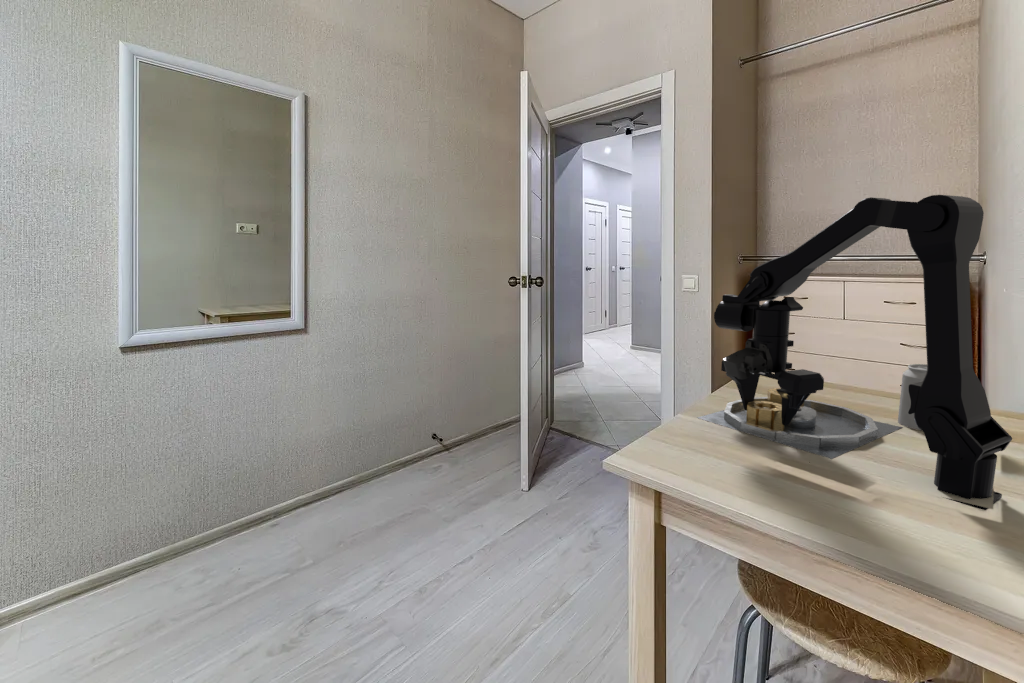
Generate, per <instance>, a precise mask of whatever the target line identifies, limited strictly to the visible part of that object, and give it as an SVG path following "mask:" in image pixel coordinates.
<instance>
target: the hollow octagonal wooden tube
mask: <svg viewBox="0 0 1024 683" xmlns="http://www.w3.org/2000/svg"><path fill="white" fill-rule="evenodd" d="M761 407H768V408H770V409H768V408H761ZM746 422H748V423H751V424H755V425H759V426H762V427H766V428H769V429H773V430H776V431H784V425H783V424H782V405H781V404H778V403H773V402H767V401H761V402H760V401H753V402H748V404H747V419H746Z"/></svg>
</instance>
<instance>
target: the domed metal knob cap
mask: <svg viewBox="0 0 1024 683" xmlns="http://www.w3.org/2000/svg"><path fill="white" fill-rule="evenodd" d="M815 424H816V411H815V410H814V409H812V408H809V407H805V406H801V407H800V408H799V410H798V411H797V413H796V414H795V416H794V417H793V419H792V420H791V422H790V423H789V425H785V426H789V427H795V428H811V427H814V426H815Z"/></svg>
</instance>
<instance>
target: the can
mask: <svg viewBox="0 0 1024 683" xmlns="http://www.w3.org/2000/svg"><path fill="white" fill-rule="evenodd" d="M926 373H927V363H926V364H925V363H921V364H920V363H918V364H917V363H913V364H912V363H911V364H908V365H907V369H906V370H905V371H903V372H902V378H901V387H900V395H899V396H900V397H899V405H898V415H897V423H898V424H899V425H901V426H902V427H906V428H908V429H909V428H910V429H913V430H918V431H922V430H921V429H919V428H918V427H917V425H916V423H915V419H914V413H913V414H908V411H909V409H910V406H911V399H910V395H909V385H910V384H914V383H918V382H922V381H923V380H924V378H925V375H926Z"/></svg>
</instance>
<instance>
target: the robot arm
mask: <svg viewBox="0 0 1024 683" xmlns="http://www.w3.org/2000/svg"><path fill="white" fill-rule="evenodd" d="M984 214H985V213H984V209H983V207H982V205H981V203H980V202H978V201H977V200H974V199H973V198H972V197H971V198H970V197H968V196H962V195H961V196H960V195H950V194H949V195H946V194H932V195H929V196H927V197H926V196H925V197H923V198H922V199H920V200H919V201H907V200H905V201H904V200H891V199H890V198H884V197H867V198H863V199H862V200H859V201H858V203H856V204H855V206H854V207H853V208H852V209H850V210H849V211H847V212H846V213H844V214H843V215H841V216H840V217H839V218H837V219H836V220H834V221H833V222H832V223H830V224H829V225H828V226H826V227H825V228H823V229H822V230H821V231H819V232H818V233H817V234H815V235H814V236H811V238H809V239H808V240H807V241H805V242H803V243H802V244H801V245H799V246H798V247H797V248H795V249H794V250H793V251H791V252H788V253H786V254H784V255H780V256H778V257H776V258H773V259H770V260H768V261H766V262H764V263H762V264H760V265H758V266H756V267H754V269H753V270H752V271H751V272H750V273H749V276H750V277H749V280H748V281H747V282H746V284H745V286H744V287H743V288H742V289H741V291H740V293H739V294H738V295H736V294H723V295H722V301H720V302H719V303H718V305H717V306H716V308H715V311H714V313H713V320H714V323H715V325H716V326H717V328H719V329H725V330H731V331H739V332H741V331H742V332H750V331H752V338H747V339H746V342H745V347H744V348H743V349H740V350H736V351H735V352H733V353H731V354H729V355H727V356H725V357H723V358H722V361H721V365H720V366H721V369H720V370H721V371H722V372H725V375H726V376H727V377H728V378H730V379H731V380H732V381H733V383H735V384H736V387H737V389H738V392H739V396H740V399H741V400H742V403H743V406H744V409H745V410H746V411H747V404H748V402H753V401H754V398H755V397H756V394H757V388H758V384H759V380H760V376H762V377H766V378H769V379H773V380H777V384H778V386H779V388H781V389H776V388H775V389H776V390H777V392H778V393H779V394H780V395H781V397H782V424H783V425H789V423H790V422H791V420H792V419H793V417H794V416H795V414H796V413H797V411H798V410H799V408H800V407H801V405H802V404H803V403H804V401H805V400H808V398H809V397H810V395H811V394H817V391H823V390H824V387H825V386H824V385H825V384H824V383H825V378H824V376H822V374H821V373H820V372H815V371H813V370H808V369H803V368H802V369H795V370H793V363H792V362H788V349H789V348H791V347H794V343H795V341H794V340H790V339H789V334H790V333H789V332H790V316H791V315H790V314H791V312H796V311H797V312H798V311H803V309H804V307H803V306H802V305H801V304H800V303H799V302H798V301H797V300H796V299H795V297H794V296H790V295H792V294H793V293H795V291H796V290H798V289H799V288H800V287H801V286H802V285H803V284H805V283H806V282H807V280H808V278H809V277H810V275H811V274H812V272H814V271H815V270H816V269H817V268H819V267H820V266H822V265H823V264H825V263H826V262H829V261H830V260H832V258H834V257H837V255H839V254H840V253H842V252H844V251H845V250H847V249H848V248H850V247H851V246H853V245H854V244H856V243H857V242H859V241H861V240H863V239H864V238H865V237H867V236H868V235H870V234H871V233H873V232H875V231H876V230H877V229H879V228H880V227H882V228H889V229H897V230H906V232H907V236H908V239H909V244H910V247H911V249H912V250H913V252H914V254H915V255H916V257H917V259H918V261H919V263H920V264H921V266H922V272H923V273H922V274H923V275H922V276H923V277H922V278H923V297H924V298H923V301H924V302H923V303H924V320H925V321H924V322H925V341H926V342H925V344H926V345H925V346H926V348H925V349H926V364H927V373H926V375H925V378H924V380H923V381H922V382H918V383H914V384H910V385H909V395H910V399H911V406H910V409H909V411H908V414H913V413H914V419H915V423H916V425H917V427H918V428H919V429H921V430H920V431H922V432H923V433H924V437H925V439H926V443H927V446H928V449H929V452H931V453H935V454H937V455H936V462H935V463H936V464H935V469H934V470H935V472H934V479H933V483H934V486H935V487H937V491H939V492H943V493H946V494H950V495H953V496H957V497H959V498H963V499H965V500H972V499H979V500H980V499H989V498H991V497H993V498H992V499H993V500H992V501H993V502H992V505H995V504H996V503H997V502H999V500H1001V499H1002V497H1003V494H1002V493H1000V492H998V491H996V490H995V491H993V489H994V482H995V475H996V469H997V468H996V467H997V462H998V455H997V454H996V453H999V452H1003V451H1005V450H1006V449H1007V447H1008V446H1009V445H1010V443H1011V442H1012V440H1013V437H1012V435H1010V434H1009V432H1008V431H1006V430H1005V428H1003V427H1002V426H1001V424H999V422H998V421H997V420H996V419H994V418H993V417H992V413H991V409H990V408H991V407H990V405H989V401H988V397H987V393H986V390H985V388H984V386H983V384H982V382H981V380H980V379H979V378H978V376H977V374H976V373H975V370H974V361H973V360H974V359H973V358H974V357H973V336H972V334H973V333H972V311H971V309H972V308H971V304H972V303H971V287H970V286H971V285H970V284H971V281H970V278H971V277H970V262H971V259H972V256H973V254H974V253H975V250H976V248H977V247H978V246H977V245H978V243H979V240H980V238H981V237H980V236H981V232H982V227H983V221H984V220H983V219H984ZM778 297H784V298H782V300H776V299H777V298H778ZM764 301H765V302H764ZM761 302H763V303H762V304H761ZM791 369H792V370H791ZM942 498H944V499H946V500H950V501H953V502H957V503H959V504H962V505H966V506H969V507H971V508H972V507H973V508H975V509H979V510H984V511H987V510H988V509H989V507H987V506H986V507H985V506H982V505H977V504H973V503H969V502H965V501H962V500H961V501H960V500H956V499H952V498H948V497H944V496H942Z"/></svg>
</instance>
